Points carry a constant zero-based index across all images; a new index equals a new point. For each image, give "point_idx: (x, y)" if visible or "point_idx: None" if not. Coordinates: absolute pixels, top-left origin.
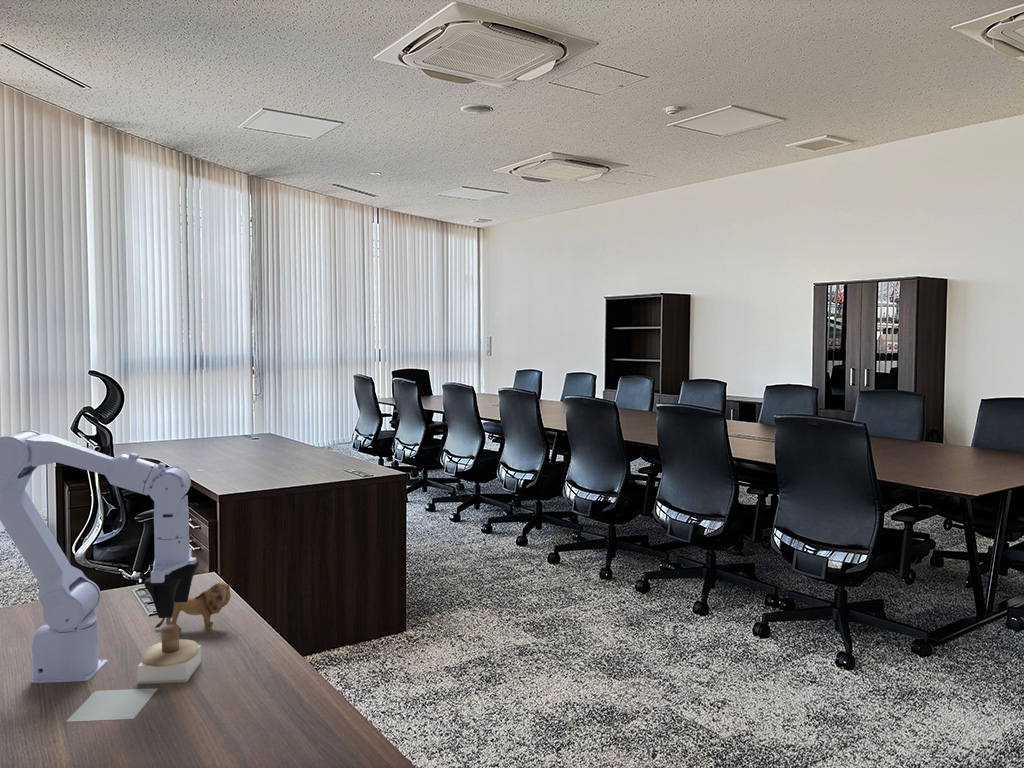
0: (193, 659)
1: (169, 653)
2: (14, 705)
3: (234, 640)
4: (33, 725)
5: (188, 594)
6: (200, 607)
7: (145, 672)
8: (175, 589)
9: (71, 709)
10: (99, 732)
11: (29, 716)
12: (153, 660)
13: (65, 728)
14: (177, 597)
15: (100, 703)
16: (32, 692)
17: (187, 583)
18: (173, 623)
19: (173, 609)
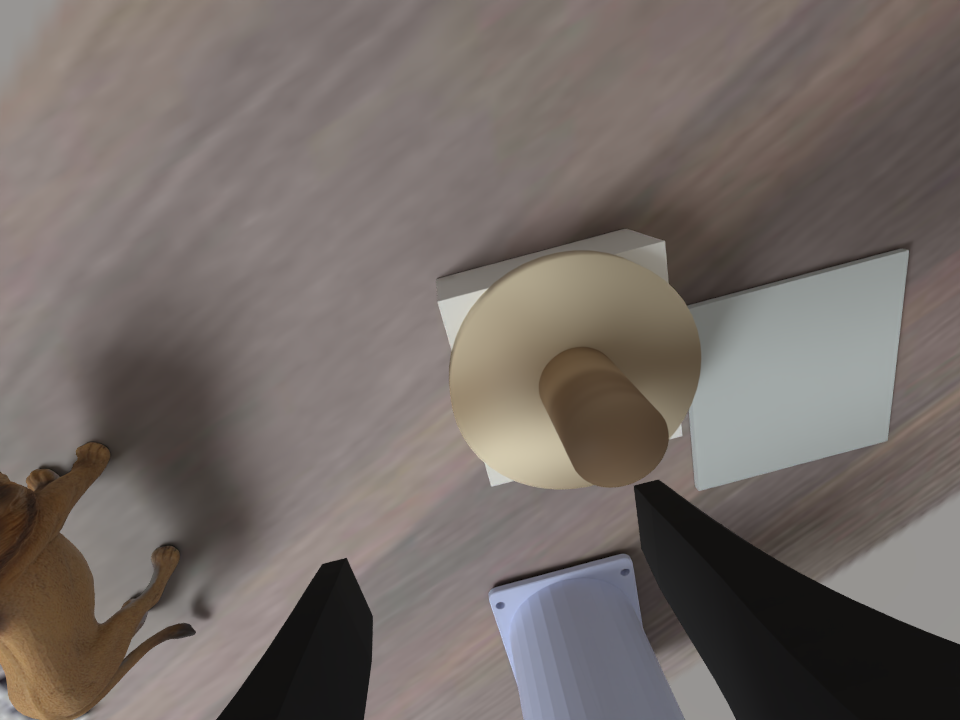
0: None
1: (620, 363)
2: None
3: (154, 270)
4: (870, 507)
5: (311, 599)
6: (42, 558)
7: None
8: (864, 647)
9: (791, 480)
10: (950, 311)
11: (818, 547)
12: (696, 386)
13: (903, 421)
14: (363, 636)
15: (784, 423)
16: None
17: (298, 707)
18: (160, 591)
19: (656, 509)
